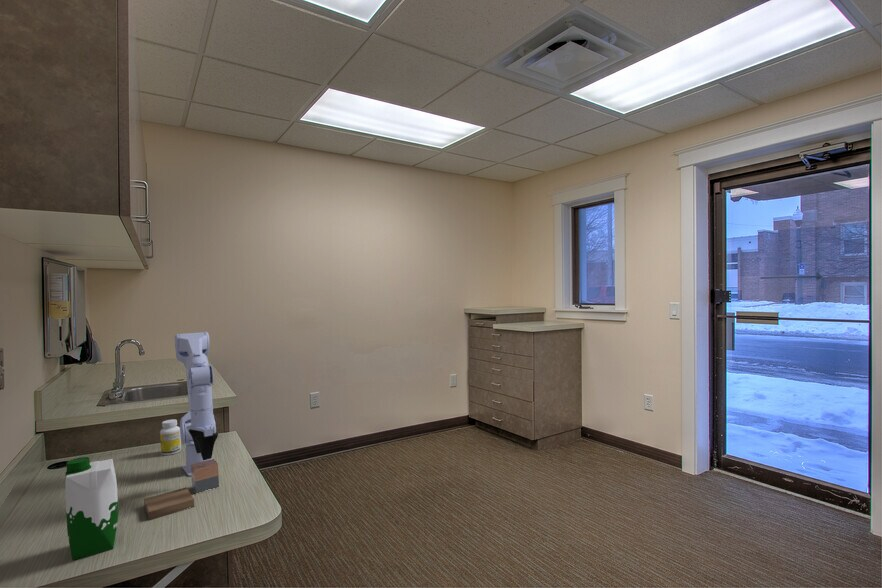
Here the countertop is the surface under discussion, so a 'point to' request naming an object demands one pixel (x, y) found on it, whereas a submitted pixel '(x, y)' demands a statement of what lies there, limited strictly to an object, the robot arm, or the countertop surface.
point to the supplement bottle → (170, 437)
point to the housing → (204, 475)
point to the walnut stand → (168, 503)
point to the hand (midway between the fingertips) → (204, 455)
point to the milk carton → (91, 506)
